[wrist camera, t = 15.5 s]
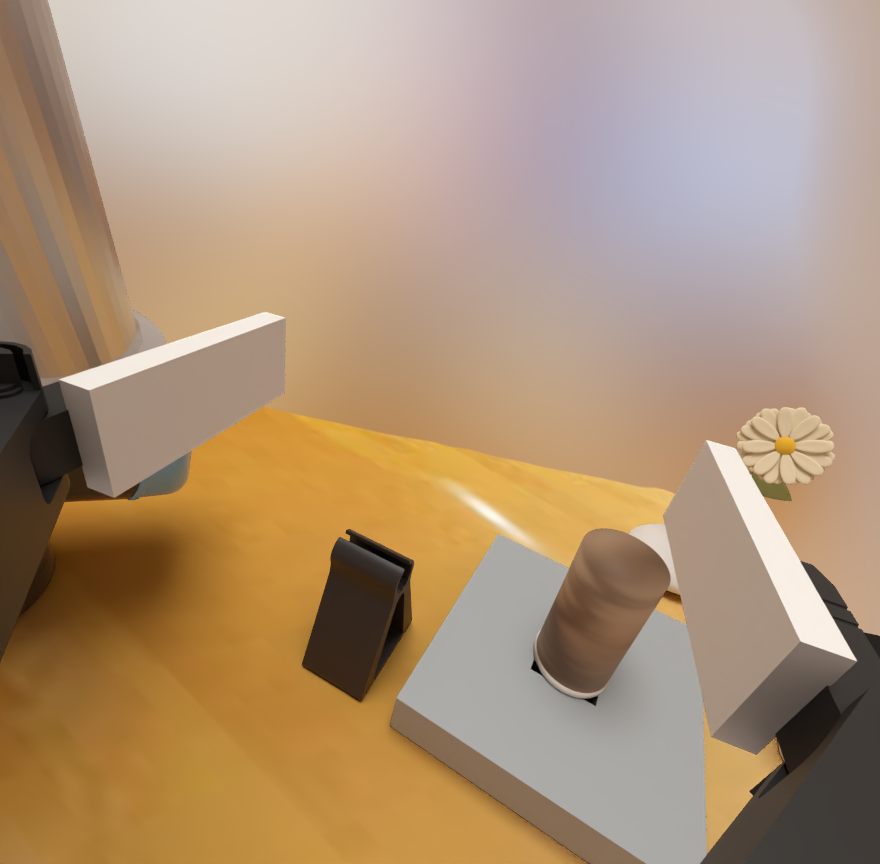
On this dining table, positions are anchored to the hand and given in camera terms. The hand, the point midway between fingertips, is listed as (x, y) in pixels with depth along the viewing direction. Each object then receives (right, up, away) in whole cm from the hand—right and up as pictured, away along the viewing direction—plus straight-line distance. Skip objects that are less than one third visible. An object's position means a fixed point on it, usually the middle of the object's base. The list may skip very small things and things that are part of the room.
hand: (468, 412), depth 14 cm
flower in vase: (+28, -19, +43) cm, 55 cm away
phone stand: (-8, -20, +27) cm, 35 cm away
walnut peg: (+10, -24, +27) cm, 37 cm away
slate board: (+10, -24, +27) cm, 37 cm away
